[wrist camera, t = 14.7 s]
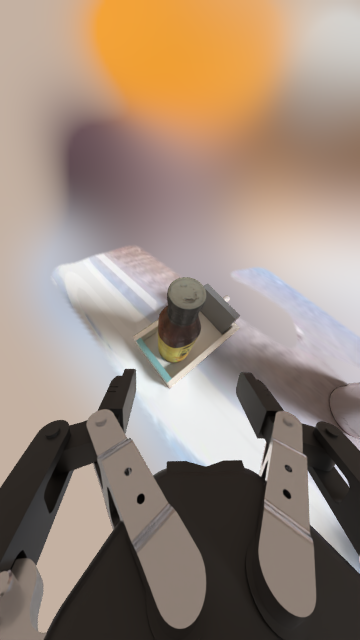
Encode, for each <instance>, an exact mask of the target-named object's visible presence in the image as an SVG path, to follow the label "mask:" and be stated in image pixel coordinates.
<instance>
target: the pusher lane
mask: <svg viewBox="0 0 360 640" xmlns="http://www.w3.org/2000/svg"><path fill="white" fill-rule="evenodd" d="M198 316H199V319H200V323H201V332H200V334H199V336H198V338H197V340H196V341H195V343H194V345H193V347H192V349H191V350H190V352H189V354H188V355H187V357H186V358H185V359H184V360H182V361H180V362H177V363H170V362H167V361H166V360H164V359H163V358H162V357H161V355H160V353H159V350H158V320H159V319H158V320H157V321H155V322H154V323H152V324H151V325H149V326H148V327H147V328H145V329H144V330H142V331H141V332H139V333H138V334H136V335H135V336H133V338H134V340H135V342H136V344H137V345H138V346H139V348H140V349H141V350H142V352H143V353H144V355H145V356H146V357H147V359H148V360H149V361H150V363H151V364H152V365H153V367H154V368H155V369H156V371H157V372H158V373H159V375H160V376H161V377H162V379H163V380H164V381H165V383H166V384H167V386H168V387H169V388H171V387H173V386H174V385H175V384H176V383H177V382H178V381H179V380H181V379H182V378H183V377H184V376H185V375H186V374H188V373H189V372H190V371H191V370H192V369H193V368H194V367H196V366H197V365H198V364H199V363H200V362H201V361H203V360H204V359H205V358H206V357H207V356H208V355H209V354H211V353H212V352H213V351H214V350H215V349H216V348H218V347H219V346H220V345H221V344H222V343H223V342H224V341H226V340H227V339H228V338H229V337H230V336H231V335H233V334H234V333H235V332H236V331H237V330H238V329H239V327H238V326H237V325H236V324H235V322H234V323H233V324H232V325H231V326H230V327H229V328H228V329H227V330H226V331H225V332H224V333H223V334H221V333H220V332H219V331H218V330H217V329H216V327H215V326H214V325H213V324H212V323H211V322H210V321H209V320H208V319H207V318H206V317H205V316H204V315H203V314H202V312H201V311H199V315H198Z"/></svg>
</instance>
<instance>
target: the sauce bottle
mask: <svg viewBox="0 0 360 640" xmlns="http://www.w3.org/2000/svg"><path fill="white" fill-rule="evenodd" d="M206 295H207V294H206V291H205V288H204V287H203V285H202V284H201V283H200V282H198V281H197V280H195V279H192V278H188V277H187V278H185V277H183V278H179V279H176V280H175V281H173V282H172V283H171V284H170V286H169V288H168V293H167V301H168V306H167V307H165V308H164V309H163V311H162V312H161V313H160V316H159V320H158V350H159V353H160V355H161V357H162V358H163V359H164V360H166V361H167V362H170V363H177V362H180V361H182V360H184V359H185V358H186V357H187V355H188V354H189V352H190V350H191V349H192V347H193V345H194V343H195V341H196V340H197V338H198V336H199V334H200V332H201V323H200V319H199V316H198V315H199V311H201V309H202V308H203V306H204V304H205V301H206Z"/></svg>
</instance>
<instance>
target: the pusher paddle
mask: <svg viewBox="0 0 360 640" xmlns="http://www.w3.org/2000/svg"><path fill="white" fill-rule="evenodd" d="M203 287H204V288H205V291H206V294H207V295H206V301H205V304H204V306H203V308H202V309H201V312H202V314H203V315H204V316H205V317H206V318H207V319H208V320H209V321H210V322H211V323H212V324H213V325H214V326H215V327H216V329H217V330H218V331H219V332H220V333H221V334H223V333H224V332H225V331H226V330H227V329H228V328H229V327H230V326H231V325H232V324H233V323H234V322H235V321H236V320H237V319H238V318H239V317H240V315H239V314H238V313H237V312H236V311H235V310H234V309H233V308H232V307H231V306H230V305H229V304H228V303H227V302H228V301H229V300H230V298H229V297H228V296H227V295H226V296H225V297H223V298H222V297H221V296H220V295H219V294H218V293H217V292H216V291H215V290H213V288H212V287H211V286H210V285H209V284H206V285H205V286H203Z"/></svg>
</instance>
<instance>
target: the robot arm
mask: <svg viewBox="0 0 360 640" xmlns="http://www.w3.org/2000/svg"><path fill="white" fill-rule="evenodd" d="M135 392H136V369H125V370H124V373H123V375H122V376H116V377H115V378H114V379H113V380H112V381H111V383H110V386H109V388H108V390H107V392H106V394H105V396H104V398H103V400H102V403H101V405H100V407H99V409H98V411H97V412H95V413H94V414H92V415H91V416H90V417H89V419H88V420H87V421H84V422H81V423H77V424H74V425H70V426H69V424H68V422H66V421H64V420H57V421H54V422H51V423H49V424H47V425H46V426H44V427H43V428H42V429H41V430H40V431H39V432H38V434H37V435H36V436H35V438H34V439H33V441H32V442H31V444H30V445H29V447H28V448H27V450H26V451H25V452H24V454H23V455H22V457H21V458H20V460H19V461H18V463H17V464H16V466H15V467H14V469H13V470H12V471H11V473H10V474H9V476H8V477H7V479H6V480H5V482H4V483H3V485H2V486H1V488H0V640H360V574H359V573H358V572H357V571H356V570H355V569H354V568H353V567H352V566H351V565H350V564H349V563H348V562H347V561H346V560H345V559H344V558H343V557H342V556H341V555H340V554H339V553H338V552H337V551H336V550H335V549H334V548H333V547H332V546H331V545H330V544H329V543H328V542H327V541H326V540H325V539H324V538H323V537H322V536H321V535H320V534H319V533H318V532H317V531H316V530H315V529H314V528H313V527H312V526H311V525H310V523H309V497H308V471H309V473H310V475H311V476H312V478H313V480H314V481H315V483H316V485H317V486H318V488H319V490H320V491H321V493H322V495H323V496H324V498H325V500H326V501H327V503H328V505H329V506H330V508H331V510H332V511H333V513H334V515H335V516H336V518H337V520H338V521H339V523H340V525H341V526H342V528H343V530H344V532H345V533H346V535H347V537H348V538H349V540H350V542H351V543H352V545H353V547H354V548H355V550H356V552H357V553H358V555H359V562H360V451H359V450H358V449H357V447H356V446H355V445H354V444H353V443H352V442H351V441H350V440H349V439H348V438H347V437H346V436H345V435H344V433H343V432H342V431H340V430H339V429H338V428H336V427H335V426H333V425H331V424H329V423H326V422H318V423H317V425H316V427H313V426H309V425H306V424H302V423H301V422H300V421H299V420H298V419H297V418H296V417H295V416H294V415H292V414H290V413H288V412H285V411H284V410H283V409H282V407H281V406H280V405H279V403H278V402H277V401H276V399H275V398H274V397H273V395H272V394H271V393H270V391H268V389H267V387H266V386H265V385H264V384H263V383H262V382H261V381H259V380H256V379H255V377H254V376H253V374H252V373H247V372H241V373H240V375H239V379H238V383H237V387H236V394H237V397H238V399H239V401H240V403H241V405H242V407H243V409H244V411H245V414H246V416H247V418H248V420H249V422H250V424H251V426H252V428H253V430H254V432H255V434H256V436H257V438H265V440H266V443H265V447H264V452H263V457H262V462H261V467H260V472H259V475H258V474H256V473H255V472H253V471H251V470H249V469H246V468H244V466H243V463H242V460H234V461H221V462H219V463H216V464H213V465H210V466H207V467H205V466H201V465H198V464H194V463H190V462H187V461H170V462H169V461H168V462H167V469H164V470H161V471H160V472H158V473H156V474H155V475H152V473H151V472H150V470H149V468H148V467H147V465H146V463H145V461H144V459H143V458H142V456H141V455H140V452H139V451H138V449H137V447H136V446H135V444H134V442H133V440H132V439H131V438H129V439H127V437H126V435H125V433H126V429H127V425H128V421H129V417H130V413H131V409H132V405H133V401H134V397H135ZM330 408H331V411H332V414H333V416H334V418H335V420H336V421H337V423H338V424H339V426H340V427H341V428H342V429H343V430H344V431H345V432H346V433H348V434H349V435H351V436H353V437H355V438H358V439H360V383H349V384H348V385H347V386H344V387H338V388H336V389H335V390H334V391H333V392H332V394H331V397H330ZM91 463H93V465H94V469H95V472H96V475H97V478H98V481H99V484H100V487H101V490H102V493H103V497H104V501H105V505H106V509H107V512H108V515H109V518H110V522H111V525H112V528H113V531H112V533H111V534H110V536H109V537H108V539H107V540H106V542H105V543H104V544H103V546H102V547H101V549H100V550H99V552H98V553H97V555H96V556H95V557H94V559H93V560H92V562H91V563H90V565H89V566H88V568H87V569H86V571H85V572H84V573H83V575H82V577H81V578H80V579H79V581H78V582H77V584H76V585H75V587H74V588H73V589H72V591H71V593H70V594H69V595H68V597H67V598H66V600H65V601H64V603H63V604H62V606H61V607H60V609H59V611H58V612H57V614H56V616H55V617H54V619H53V621H52V623H51V625H50V627H49V629H48V631H47V633H41V632H38V613H39V608H40V604H41V601H42V596H43V580H42V578H41V575H40V573H39V571H38V569H37V567H36V565H37V562H38V559H39V557H40V554H41V552H42V549H43V547H44V544H45V542H46V539H47V537H48V534H49V532H50V529H51V526H52V524H53V521H54V519H55V516H56V514H57V511H58V509H59V506H60V503H61V501H62V498H63V496H64V493H65V491H66V488H67V486H68V483H69V481H70V478H71V476H72V473H73V471H74V470H75V469H77V468H80V467H82V466H86V465H88V464H91ZM335 464H336V465H337V466H338V468H339V469H340V470H341V472H342V473H343V474H344V476H345V477H346V479H347V480H348V483H349V486H350V488H349V486H348V485H347V484H346V482H345V481H344V480H343V478H342V477H341V475H340V474H339V473H338V471H337V470H336V469H335V467H334V465H335ZM307 470H308V471H307Z"/></svg>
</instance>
